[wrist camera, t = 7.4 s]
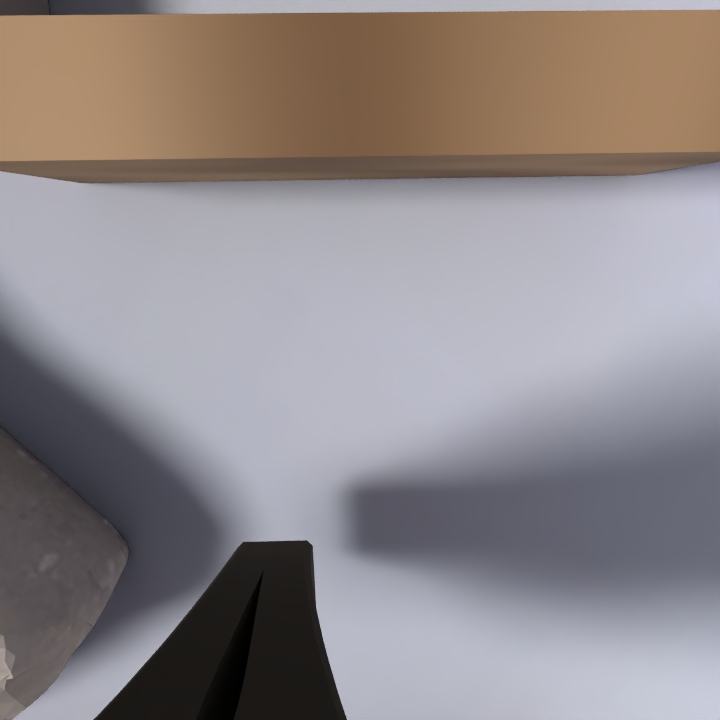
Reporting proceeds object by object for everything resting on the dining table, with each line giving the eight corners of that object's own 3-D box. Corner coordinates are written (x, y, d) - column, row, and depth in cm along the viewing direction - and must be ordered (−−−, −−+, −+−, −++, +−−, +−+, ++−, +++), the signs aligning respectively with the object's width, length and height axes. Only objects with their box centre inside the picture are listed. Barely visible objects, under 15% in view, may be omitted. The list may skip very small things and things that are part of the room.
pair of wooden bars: (649, 85, 8) (815, 9, 5) (544, 773, 13) (597, 924, 10) (-439, 96, 8) (-905, 23, 5) (-106, 796, 13) (-235, 958, 10)
